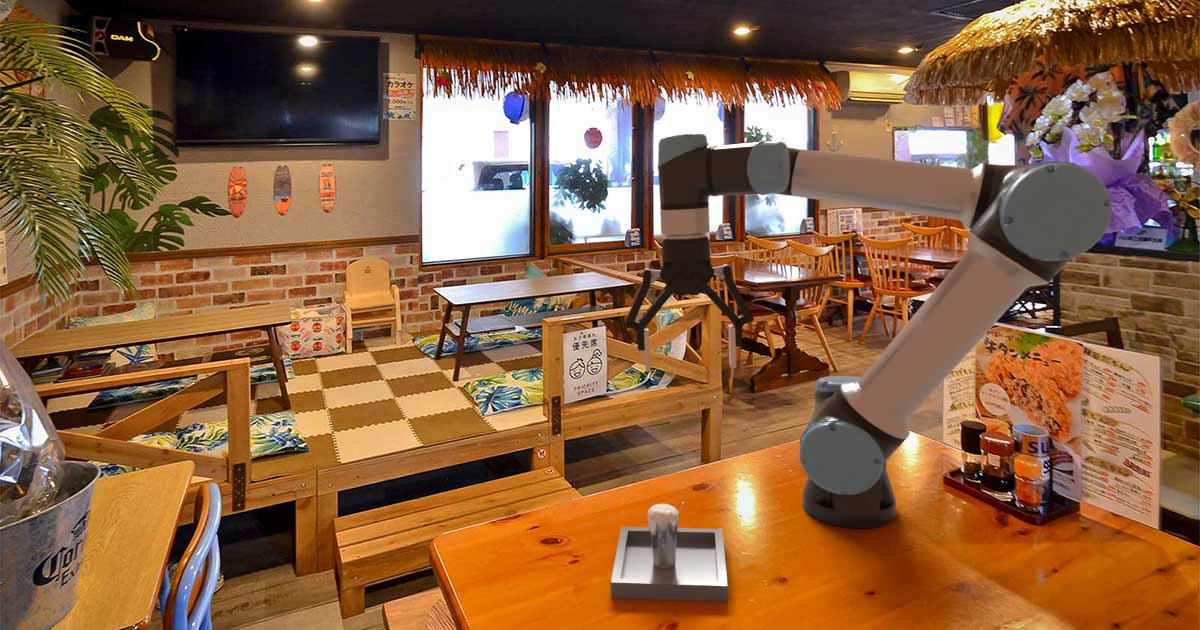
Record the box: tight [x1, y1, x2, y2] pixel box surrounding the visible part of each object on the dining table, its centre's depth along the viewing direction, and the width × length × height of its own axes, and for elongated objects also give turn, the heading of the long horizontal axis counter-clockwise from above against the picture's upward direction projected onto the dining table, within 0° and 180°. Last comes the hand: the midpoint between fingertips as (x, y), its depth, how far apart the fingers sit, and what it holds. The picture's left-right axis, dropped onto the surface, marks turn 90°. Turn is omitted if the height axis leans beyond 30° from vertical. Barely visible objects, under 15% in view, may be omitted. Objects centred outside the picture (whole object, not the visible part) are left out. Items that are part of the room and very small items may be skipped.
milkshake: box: [647, 501, 684, 569], centre depth 105 cm, size 4×5×10 cm
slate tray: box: [610, 526, 729, 603], centre depth 106 cm, size 16×16×2 cm
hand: (690, 368), depth 115 cm, fingers open, 13 cm apart
